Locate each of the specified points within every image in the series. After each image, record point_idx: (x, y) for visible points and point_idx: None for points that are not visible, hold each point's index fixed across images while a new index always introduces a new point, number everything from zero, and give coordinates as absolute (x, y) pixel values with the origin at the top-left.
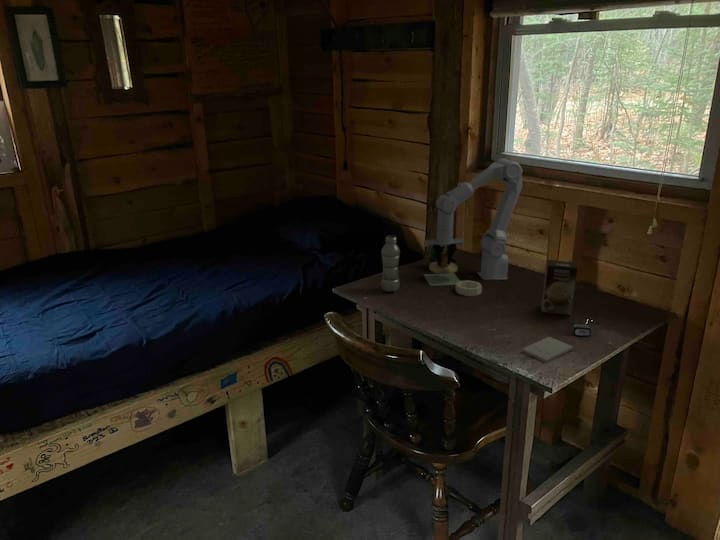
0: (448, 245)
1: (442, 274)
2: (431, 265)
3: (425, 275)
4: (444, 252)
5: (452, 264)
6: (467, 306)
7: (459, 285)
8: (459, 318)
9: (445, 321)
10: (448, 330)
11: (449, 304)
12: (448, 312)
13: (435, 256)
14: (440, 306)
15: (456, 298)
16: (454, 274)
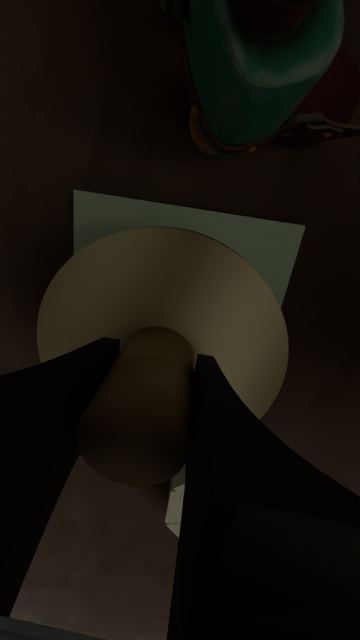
0: (184, 613)
1: (208, 229)
2: (57, 322)
3: (84, 216)
4: (311, 63)
5: (257, 345)
6: (161, 558)
7: (178, 512)
8: (102, 598)
9: (58, 598)
10: (54, 625)
11: (105, 531)
12: (83, 567)
13: (187, 7)
14: (70, 533)
15: (151, 504)
16: (293, 253)
